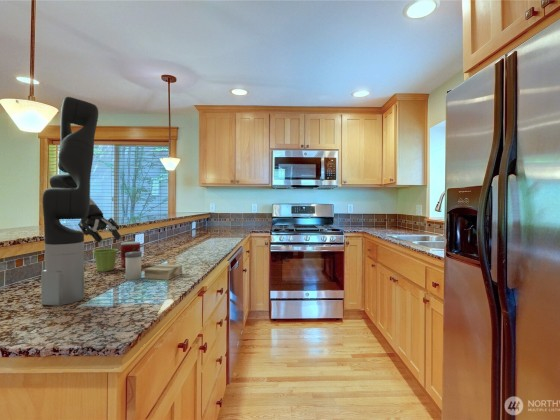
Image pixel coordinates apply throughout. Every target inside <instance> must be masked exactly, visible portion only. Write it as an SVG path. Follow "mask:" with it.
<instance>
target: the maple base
mask: <svg viewBox="0 0 560 420" xmlns="http://www.w3.org/2000/svg"><path fill="white" fill-rule="evenodd" d="M143 271H144V274H143V275H144V279H148V280H149V279H150V280H165V281H168V280H171V279H173V278H175V277H177V275H178V276H179V275H181V274H183V265H182V264H170V263H169V264H168V263H167V264H166V263H159V264H156V265H154V266H150V267H146V268H144V270H143Z"/></svg>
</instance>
